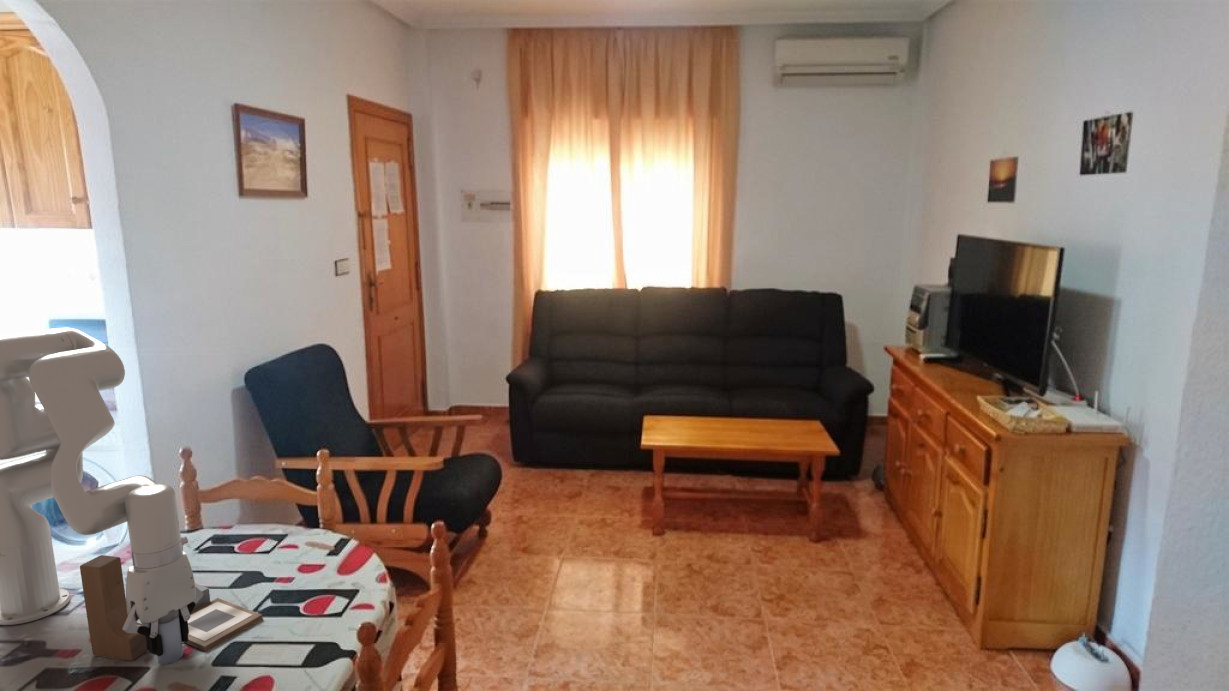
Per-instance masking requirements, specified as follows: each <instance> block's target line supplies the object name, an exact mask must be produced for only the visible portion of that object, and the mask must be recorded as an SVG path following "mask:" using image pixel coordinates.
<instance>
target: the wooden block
mask: <svg viewBox="0 0 1229 691" xmlns="http://www.w3.org/2000/svg"><path fill="white" fill-rule="evenodd" d="M122 568H123V567H122V559H121V557H119V556H111V555H105V554H104V555H103V554H101V555H100V554H99V555H98V556H97V557H95V558H92V559H91V560H89V561H87V562H85V563H82V564H80V566H79V570H80V578H81V585H82V592H83V593H82V594H83V599H84V605H85V611H86V618H87V624H88V634H89V640H90V645H91V646H90V647H91V653H92V655H93V656H95V657H102V658H111V659H117V660H122V661H123V660H124V661H128V662H129V661H130V662H133V661H135V660H136V659H137V658H139V657H140V656H142V655H143V654H145V653H146V652H148V650H147V644H146V636H145V635H142V634H139V633H127V632H125V631H123V630H122V628H123V626H124V624H125V622H126V619H127V617H128V614H127V606H126V588H125V583H124V576H123V569H122ZM136 625H142V623H141V622H137V623H136Z"/></svg>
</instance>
